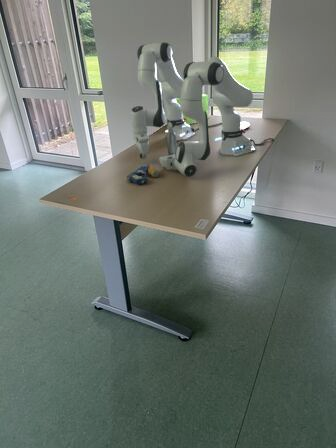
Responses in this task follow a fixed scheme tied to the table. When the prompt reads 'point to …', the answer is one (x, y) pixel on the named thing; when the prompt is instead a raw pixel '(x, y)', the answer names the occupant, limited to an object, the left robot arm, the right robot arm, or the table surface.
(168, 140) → the bottle
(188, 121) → the light green block
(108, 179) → the table surface
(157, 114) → the left robot arm
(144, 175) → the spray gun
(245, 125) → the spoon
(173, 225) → the table surface
